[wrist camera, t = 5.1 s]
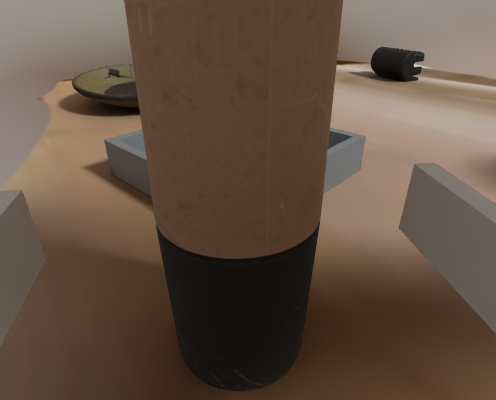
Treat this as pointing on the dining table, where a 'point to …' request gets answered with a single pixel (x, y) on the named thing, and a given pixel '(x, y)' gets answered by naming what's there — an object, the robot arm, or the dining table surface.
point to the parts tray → (136, 173)
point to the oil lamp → (109, 85)
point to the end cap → (396, 63)
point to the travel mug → (236, 170)
